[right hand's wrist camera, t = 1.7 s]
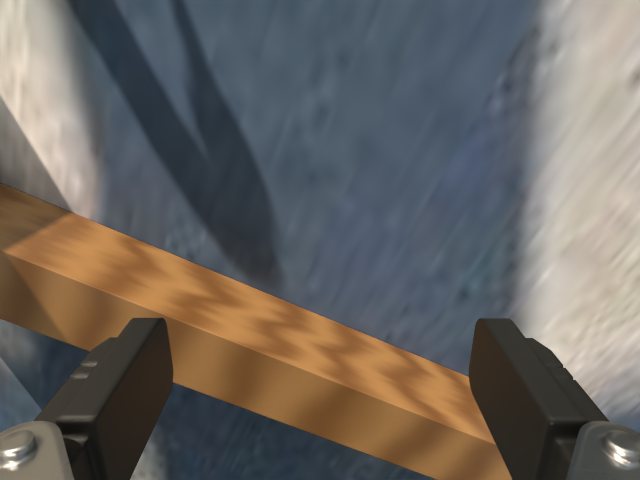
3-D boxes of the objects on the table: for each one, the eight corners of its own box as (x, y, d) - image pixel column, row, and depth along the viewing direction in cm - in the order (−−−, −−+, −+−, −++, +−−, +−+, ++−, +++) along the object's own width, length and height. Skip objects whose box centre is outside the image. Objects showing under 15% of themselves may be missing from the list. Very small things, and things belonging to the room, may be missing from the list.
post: (493, 386, 40) (531, 458, 32) (464, 425, 41) (494, 501, 34) (-126, 130, 32) (-259, 149, 25) (-131, 190, 34) (-257, 224, 26)
